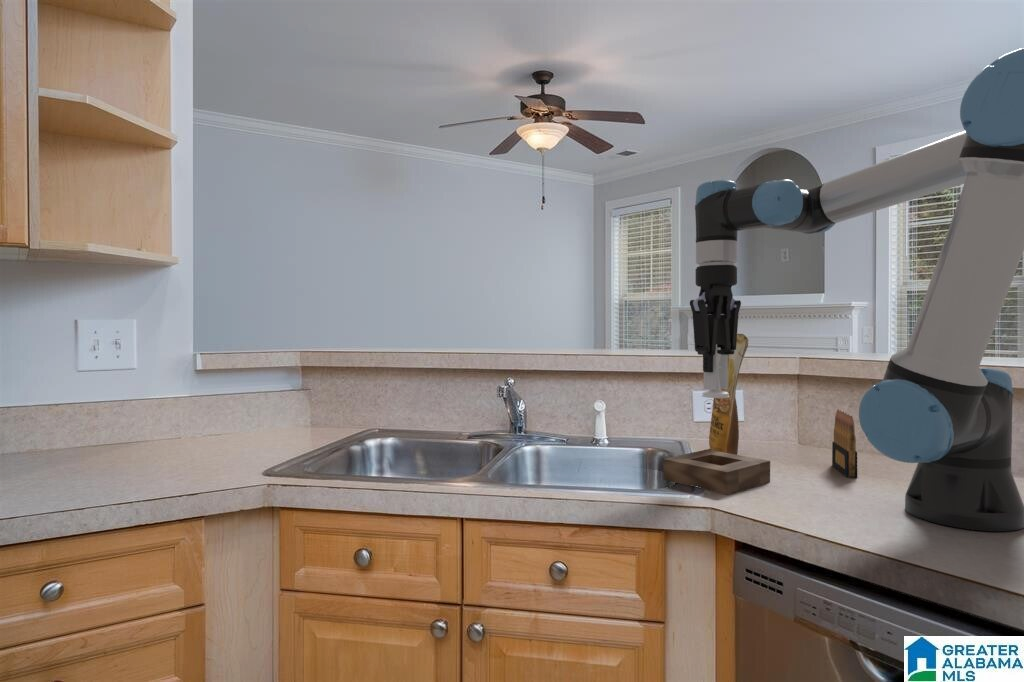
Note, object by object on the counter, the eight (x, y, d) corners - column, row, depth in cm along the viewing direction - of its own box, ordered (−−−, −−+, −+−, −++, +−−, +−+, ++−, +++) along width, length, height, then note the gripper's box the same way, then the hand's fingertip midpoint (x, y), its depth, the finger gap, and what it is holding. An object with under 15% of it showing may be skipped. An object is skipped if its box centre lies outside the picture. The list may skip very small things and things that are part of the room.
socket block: (770, 481, 119) (770, 460, 119) (727, 494, 110) (727, 472, 110) (706, 468, 130) (706, 449, 130) (663, 479, 121) (663, 458, 121)
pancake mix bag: (734, 445, 153) (734, 331, 152) (749, 463, 134) (749, 332, 134) (705, 445, 154) (705, 331, 154) (717, 462, 136) (716, 332, 135)
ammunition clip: (831, 465, 132) (832, 408, 132) (841, 465, 132) (841, 408, 131) (847, 477, 122) (847, 416, 121) (857, 478, 121) (857, 416, 121)
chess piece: (731, 398, 117) (731, 344, 116) (703, 397, 118) (703, 344, 117) (727, 395, 122) (727, 343, 121) (701, 394, 123) (701, 343, 122)
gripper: (722, 268, 127) (722, 384, 127) (674, 264, 117) (674, 390, 118) (756, 265, 121) (756, 387, 121) (708, 261, 111) (708, 393, 112)
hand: (715, 388), depth 120 cm, fingers closed on chess piece, 2 cm apart
